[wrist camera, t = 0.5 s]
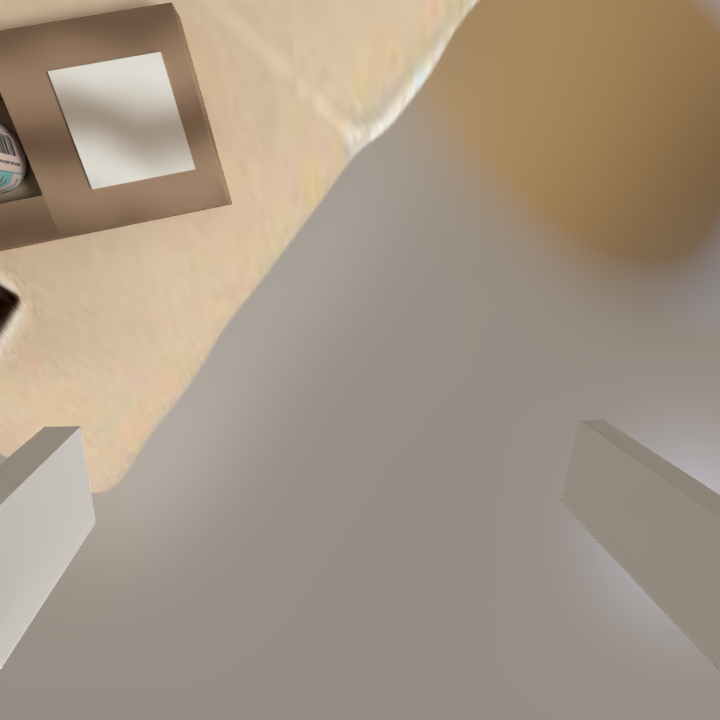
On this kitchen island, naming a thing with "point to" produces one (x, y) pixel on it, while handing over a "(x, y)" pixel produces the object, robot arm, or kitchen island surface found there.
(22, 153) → the beer can
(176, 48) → the pocket board
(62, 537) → the robot arm
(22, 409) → the kitchen island surface
